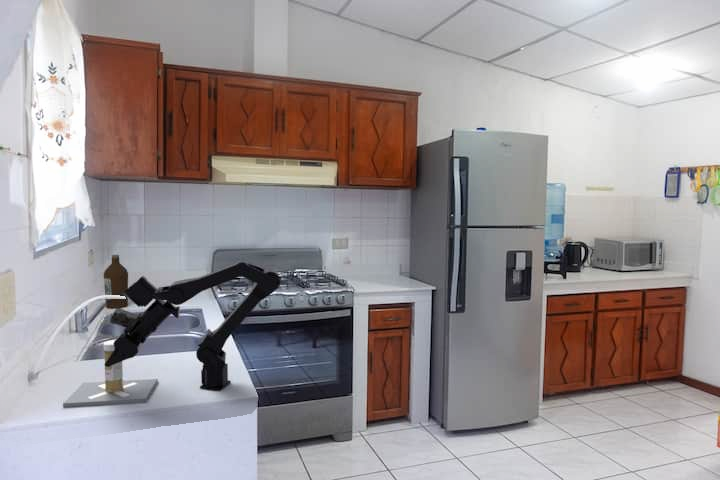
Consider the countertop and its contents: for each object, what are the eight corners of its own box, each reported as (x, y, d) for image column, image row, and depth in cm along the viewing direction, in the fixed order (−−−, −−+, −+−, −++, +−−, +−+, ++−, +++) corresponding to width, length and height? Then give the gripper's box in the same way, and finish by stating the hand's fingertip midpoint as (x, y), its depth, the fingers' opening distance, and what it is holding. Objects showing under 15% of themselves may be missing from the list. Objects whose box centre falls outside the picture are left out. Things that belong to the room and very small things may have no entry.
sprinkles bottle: (102, 390, 134) (100, 342, 133) (118, 385, 138) (117, 338, 137) (109, 394, 131) (107, 345, 130) (126, 389, 135) (125, 341, 134)
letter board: (157, 382, 143) (157, 378, 143) (146, 402, 129) (145, 398, 129) (83, 386, 139) (83, 382, 139) (63, 407, 126) (62, 403, 126)
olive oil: (123, 303, 245) (122, 253, 242) (132, 306, 237) (131, 255, 235) (101, 306, 237) (99, 255, 235) (109, 310, 230) (107, 257, 227)
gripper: (135, 292, 142) (95, 331, 140) (121, 306, 124) (75, 352, 122) (165, 317, 145) (126, 356, 143) (156, 334, 127) (110, 379, 125)
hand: (110, 360), depth 133 cm, fingers open, 9 cm apart
